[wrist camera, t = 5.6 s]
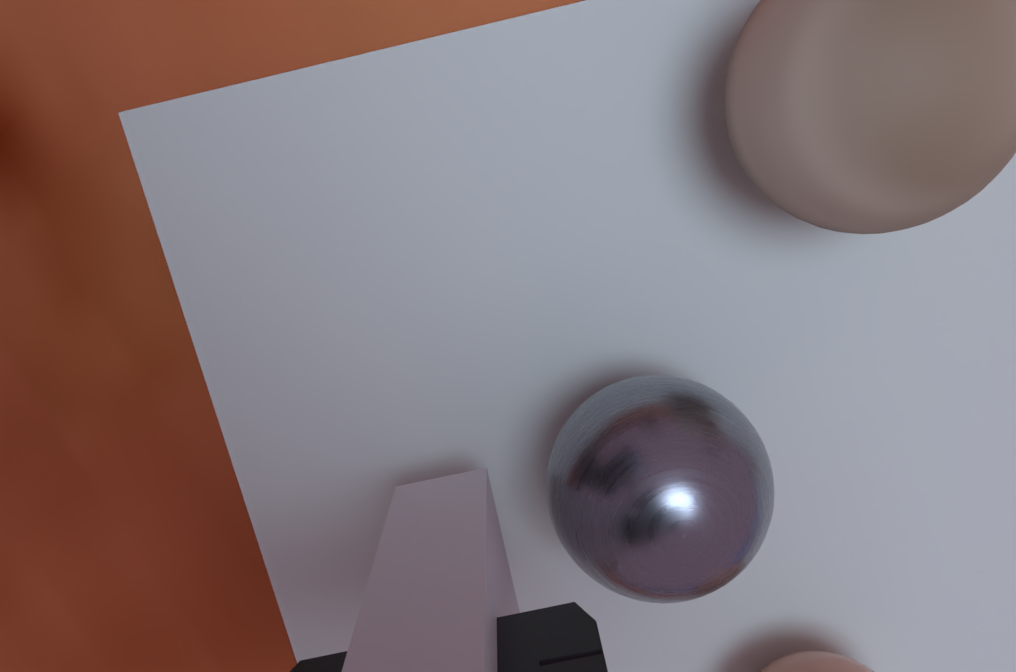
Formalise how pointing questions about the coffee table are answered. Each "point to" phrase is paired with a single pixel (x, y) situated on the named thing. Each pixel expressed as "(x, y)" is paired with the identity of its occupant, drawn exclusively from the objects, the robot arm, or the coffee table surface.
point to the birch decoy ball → (873, 107)
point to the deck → (589, 332)
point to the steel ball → (660, 489)
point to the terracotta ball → (815, 663)
